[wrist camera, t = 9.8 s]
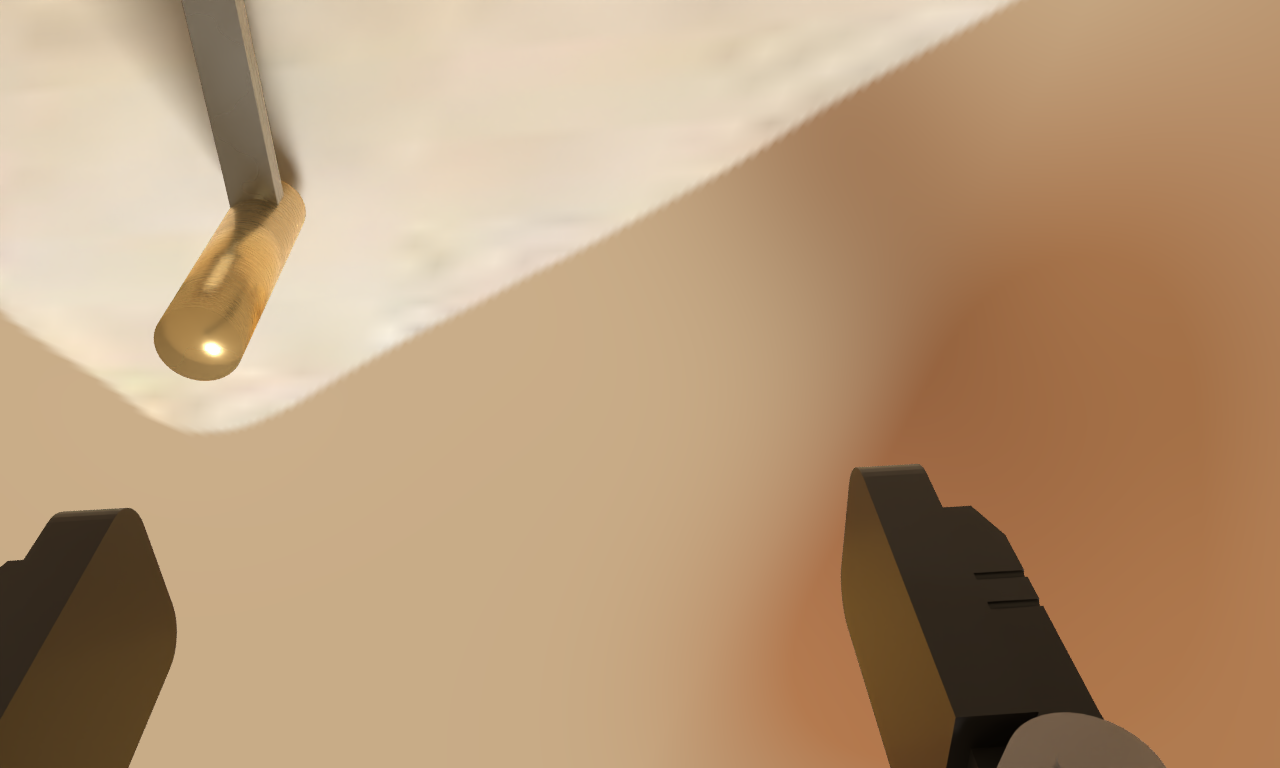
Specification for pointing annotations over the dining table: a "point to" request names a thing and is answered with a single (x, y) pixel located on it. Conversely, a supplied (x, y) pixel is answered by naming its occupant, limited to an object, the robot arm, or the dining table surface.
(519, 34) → the dining table surface
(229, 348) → the lever handle
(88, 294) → the dining table surface
